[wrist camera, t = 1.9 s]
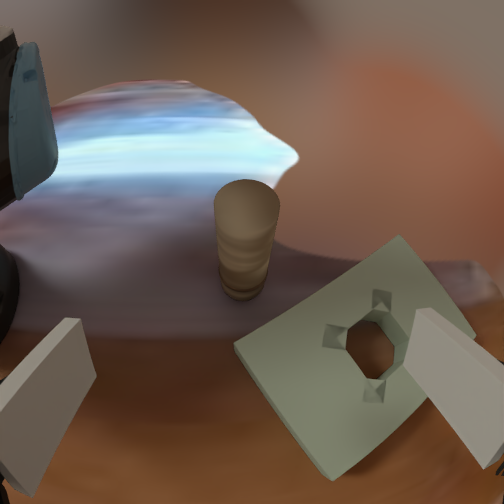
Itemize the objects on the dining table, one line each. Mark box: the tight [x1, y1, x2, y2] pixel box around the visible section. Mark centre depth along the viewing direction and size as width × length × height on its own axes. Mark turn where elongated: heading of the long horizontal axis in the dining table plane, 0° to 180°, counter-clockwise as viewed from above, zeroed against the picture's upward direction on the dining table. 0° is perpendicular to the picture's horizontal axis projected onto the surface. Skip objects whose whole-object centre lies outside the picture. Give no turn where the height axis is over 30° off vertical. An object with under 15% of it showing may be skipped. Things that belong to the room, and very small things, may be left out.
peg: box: [214, 179, 280, 301], centre depth 23 cm, size 4×4×12 cm
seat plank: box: [234, 234, 477, 481], centre depth 24 cm, size 20×14×3 cm
